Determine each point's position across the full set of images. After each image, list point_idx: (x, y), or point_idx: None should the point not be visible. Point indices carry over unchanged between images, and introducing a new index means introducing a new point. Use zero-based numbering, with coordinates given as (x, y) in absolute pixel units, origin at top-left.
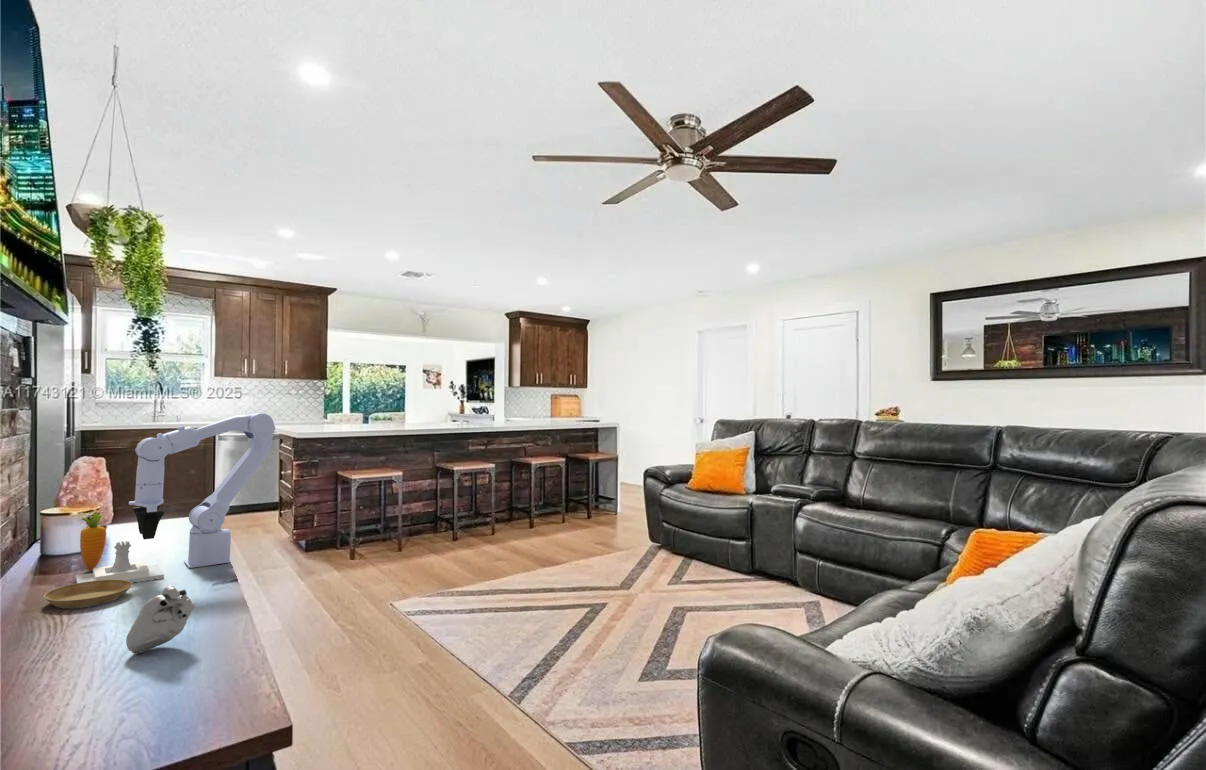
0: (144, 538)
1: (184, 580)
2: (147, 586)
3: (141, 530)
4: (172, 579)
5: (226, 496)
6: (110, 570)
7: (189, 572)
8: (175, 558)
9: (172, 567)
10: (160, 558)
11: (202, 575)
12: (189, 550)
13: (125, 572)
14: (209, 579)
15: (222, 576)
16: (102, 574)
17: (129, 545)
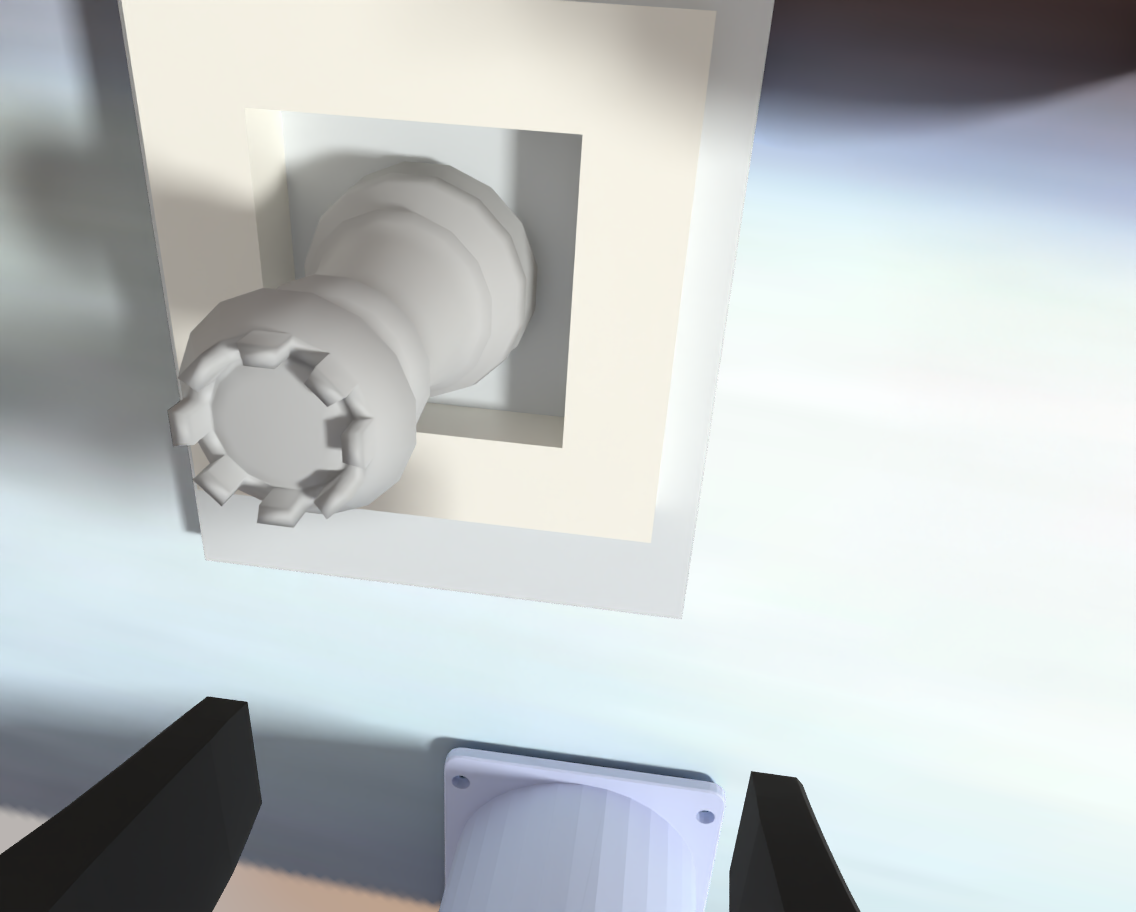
0: (194, 714)
1: (75, 622)
2: (7, 385)
3: (756, 840)
4: (155, 574)
5: None
6: (386, 175)
7: (325, 710)
8: (976, 783)
9: (608, 678)
10: (1111, 708)
11: None
12: (546, 896)
13: (184, 292)
14: (21, 732)
15: (68, 803)
16: (221, 64)
17: (242, 489)
